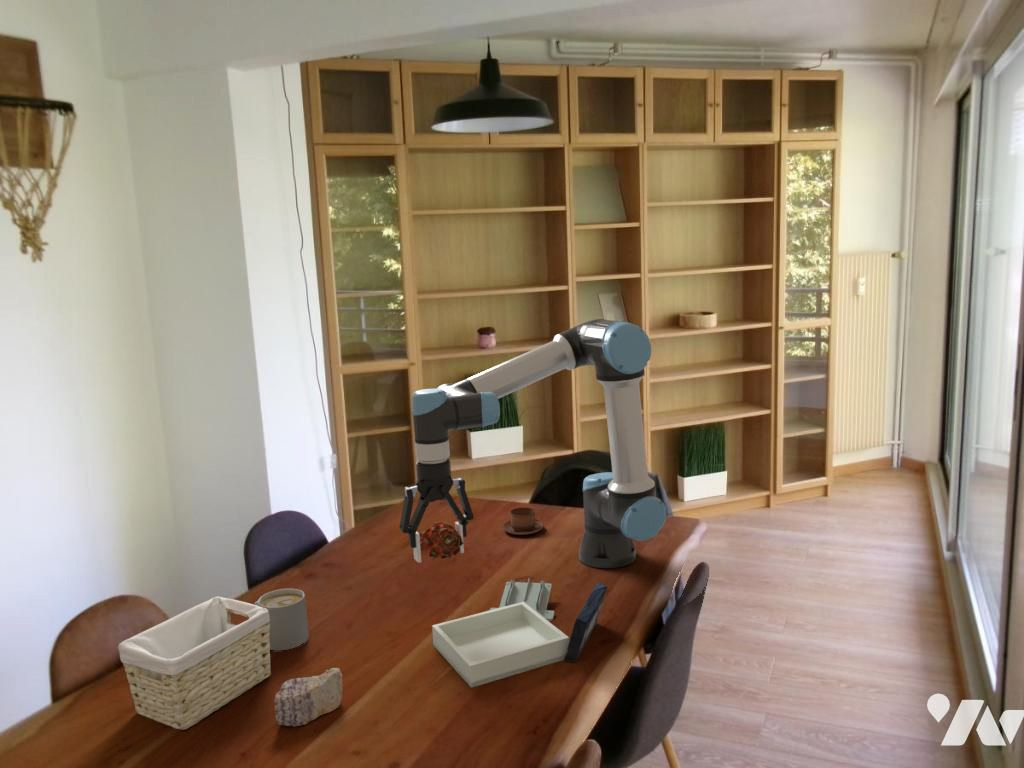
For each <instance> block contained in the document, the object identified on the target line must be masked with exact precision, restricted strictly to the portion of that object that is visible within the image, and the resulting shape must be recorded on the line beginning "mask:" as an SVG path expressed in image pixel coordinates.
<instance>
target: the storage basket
mask: <svg viewBox="0 0 1024 768" xmlns="http://www.w3.org/2000/svg"><path fill="white" fill-rule="evenodd" d="M231 613H232V614H235V615H239V616H244V617H245V618H246V617H248V619H247V620H245V621H243V622H240V623H239V624H234V623H232V622H231V620H232V617H231ZM269 621H270V618H269V613H268V609H266V608H262V607H260V606H257V605H254V604H253V603H249V602H246V601H241V600H238V599H233V598H228V597H222V596H215V597H212V598H210V599H208V600H207V601H204V602H202V603H200V604H197V605H195V606H192V607H191V608H188V609H187V610H185V611H183V612H181V613H179V614H177V615H175V616H173V617H171V618H169V619H167V620H165V621H163V622H160V623H159V624H156V625H154V626H153V627H152V626H151V627H150V628H148V629H146V630H144V631H141V632H140V633H137V634H135V635H134V636H131V637H128V638H127V639H125V640H122V642H121V641H120V643H119V644H118V647H117V648H118V651H119V659H120V662H121V663H122V665H123V667H124V670H125V671H124V672H125V673H126V679H127V681H128V684H129V689H130V694H131V695H132V699H133V703H134V708H135V712H137V714H138V715H141V716H142V717H145V718H148V719H151V720H154V721H155V722H158V723H160V724H163V725H165V726H169V727H172V728H173V729H176V730H183V731H184V730H188V729H189V728H190V727H192V726H194V725H196V724H198V723H199V722H200V721H201V720H203V719H205V718H207V717H208V716H210V715H211V714H212V713H213V712H215V711H218V710H219V709H220V708H222V707H223V706H225V705H228V704H229V703H230V702H231V701H232V700H234V699H236V698H238V697H240V696H241V695H243V694H244V693H245V692H247V691H248V690H250V689H252V688H253V687H254V686H256V685H257V684H260V683H261V682H263V681H264V680H265V679H267V678H269V677H270V675H272V673H271V654H270V652H271V651H270V643H269V635H270V633H269V631H270V623H269Z"/></svg>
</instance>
